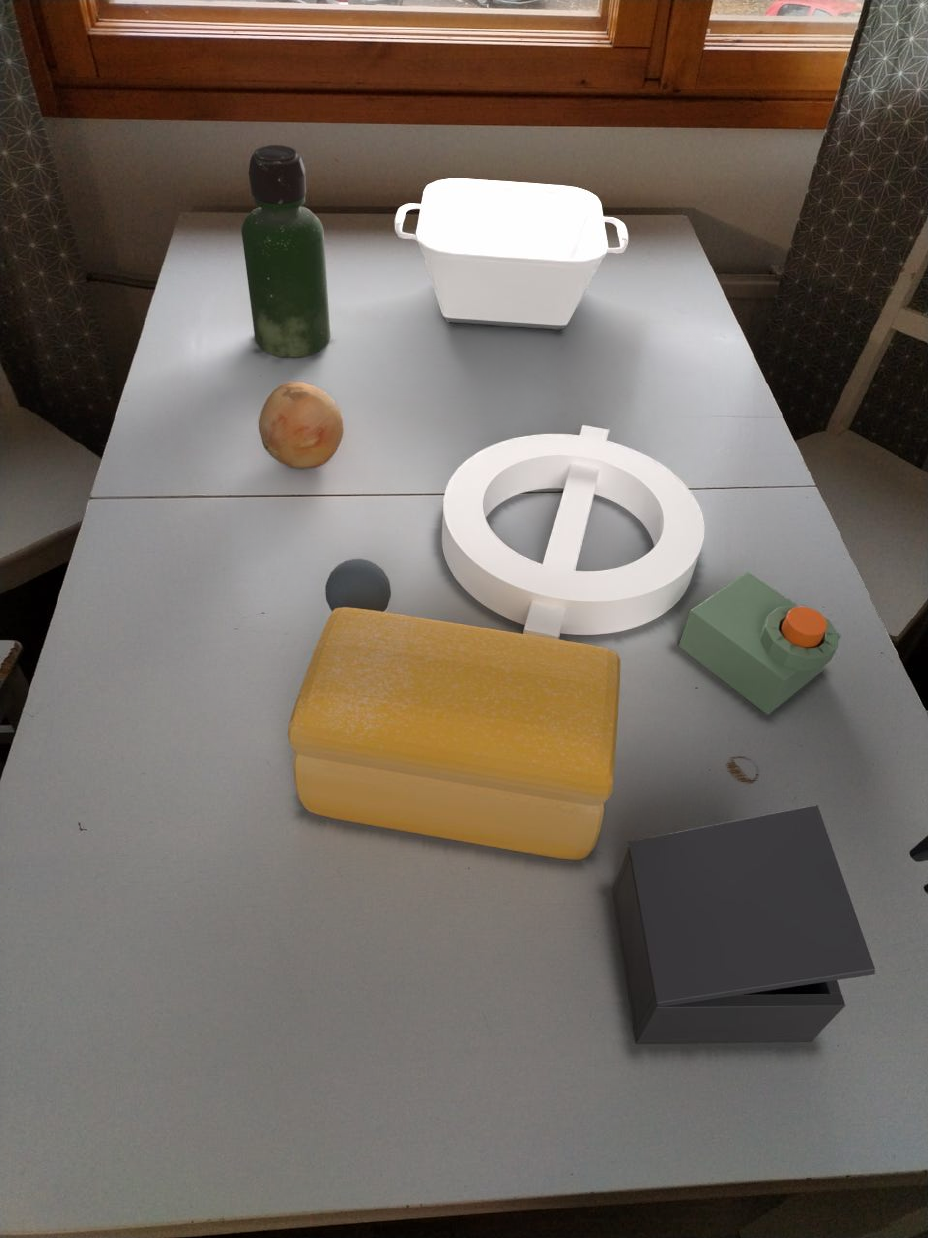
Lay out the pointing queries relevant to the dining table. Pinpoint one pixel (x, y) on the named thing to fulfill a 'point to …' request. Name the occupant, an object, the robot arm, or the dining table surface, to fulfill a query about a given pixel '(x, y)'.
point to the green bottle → (285, 258)
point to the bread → (457, 732)
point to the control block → (754, 643)
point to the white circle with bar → (571, 534)
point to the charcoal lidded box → (721, 1018)
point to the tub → (510, 249)
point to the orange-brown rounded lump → (300, 425)
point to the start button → (804, 627)
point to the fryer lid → (746, 908)
